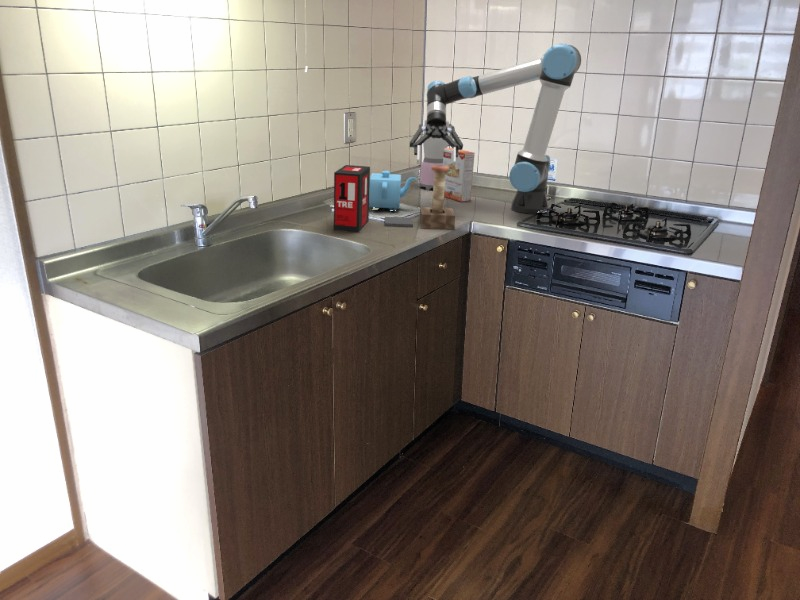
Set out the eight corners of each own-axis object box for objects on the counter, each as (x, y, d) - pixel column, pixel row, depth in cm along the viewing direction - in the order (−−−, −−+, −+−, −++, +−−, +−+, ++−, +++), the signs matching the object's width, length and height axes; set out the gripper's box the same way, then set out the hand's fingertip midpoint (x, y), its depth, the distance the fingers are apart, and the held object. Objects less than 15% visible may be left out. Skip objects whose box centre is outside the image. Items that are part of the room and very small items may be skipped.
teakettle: (383, 216, 249) (384, 177, 244) (351, 206, 262) (352, 169, 256) (417, 209, 262) (419, 173, 257) (385, 201, 274) (387, 165, 269)
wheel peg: (444, 222, 244) (448, 165, 236) (445, 227, 238) (450, 168, 230) (427, 222, 243) (430, 164, 236) (428, 226, 238) (432, 167, 230)
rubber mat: (411, 220, 245) (411, 217, 245) (412, 227, 236) (412, 224, 235) (384, 219, 244) (385, 216, 244) (385, 225, 235) (385, 223, 235)
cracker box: (439, 196, 289) (443, 147, 281) (450, 194, 292) (453, 147, 284) (460, 202, 278) (464, 152, 271) (471, 201, 281) (475, 152, 274)
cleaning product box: (358, 232, 226) (360, 174, 218) (333, 230, 227) (334, 172, 220) (368, 221, 241) (370, 166, 234) (345, 219, 242) (345, 164, 235)
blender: (428, 191, 296) (433, 118, 285) (414, 186, 306) (418, 115, 295) (456, 189, 304) (462, 118, 293) (441, 184, 314) (446, 115, 303)
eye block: (451, 221, 246) (452, 208, 245) (454, 229, 235) (455, 215, 233) (419, 219, 246) (420, 206, 244) (421, 228, 235) (422, 214, 233)
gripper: (467, 125, 257) (467, 170, 248) (403, 121, 256) (402, 166, 247) (469, 112, 250) (470, 158, 241) (404, 108, 249) (403, 154, 240)
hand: (436, 162), depth 244 cm, fingers open, 13 cm apart
